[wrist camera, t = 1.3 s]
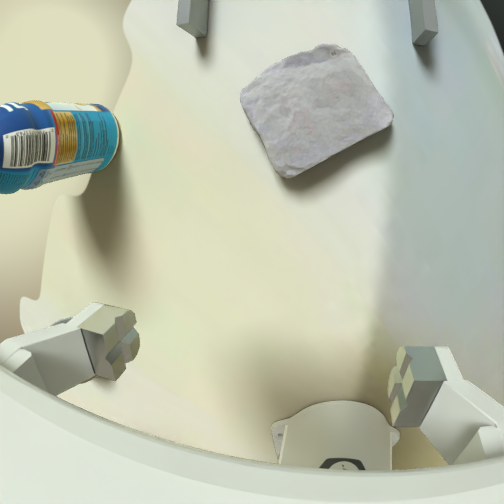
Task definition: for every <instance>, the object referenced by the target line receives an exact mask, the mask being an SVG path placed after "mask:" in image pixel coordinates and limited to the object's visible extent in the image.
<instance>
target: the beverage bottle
mask: <svg viewBox="0 0 504 504" xmlns="http://www.w3.org/2000/svg"><path fill="white" fill-rule="evenodd" d="M118 143H119V128H118V124H117V121H116V118H115V116H114V115H113V113H112V112H111V111H110V110H109V109H108V108H106V107H104V106H102V105H99V104H77V103H49V102H42V101H27V102H23V103H22V104H18V103H15V102H10V103H6V104H3V105H1V106H0V194H11V193H15V192H16V191H18V190H19V189H24V190H28V189H34V188H37V187H40V186H41V185H43V184H46V183H50V182H53V181H57V180H61V179H65V178H69V177H73V176H77V175H81V174H85V173H93V172H97V171H100V170H102V169H103V168H105V167H106V166H107V165H108V164H109V163H110V162H111V160H112V159H113V157H114V155H115V153H116V150H117V147H118Z"/></svg>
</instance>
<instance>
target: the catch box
mask: <svg viewBox="0 0 504 504" xmlns="http://www.w3.org/2000/svg"><path fill="white" fill-rule="evenodd" d="M208 5H209V0H179V1H178V13H177V26H179V27H181V28H182V29H184V30H185V31H187V32H188V33H190V34H191V35H192V36H194V37H195V38H197V37H205V36H207V22H208ZM409 9H410V18H411V29H412V42H413V44H417V45H422V46H425V45H426V44H427V43H428V42H429V41H430V40H431V39H432V38H433V37H434V36H435V35H436V34H437V33H438V24H437V16H436V9H435V2H434V0H409Z"/></svg>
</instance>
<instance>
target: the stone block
mask: <svg viewBox="0 0 504 504" xmlns="http://www.w3.org/2000/svg"><path fill="white" fill-rule="evenodd" d="M240 102H241V105H242V107H243V110H244V112H245V114H246V115H247V117H248V119H249V120H250V124H251V125H252V127H253V129H254V131H256V132H257V134H258V135H259V136H260V137H261V139H262V141H263V144H264V146H265V149H266V151H267V154H268V157H269V160H270V162H271V164H272V165H273V167H274V169H275V171H276V172H277V173H278V174H280V175H281V176H282V177H283V178H289V179H290V178H292V177H295V176H297V175H298V174H300V173H302V172H304V171H306V170H307V169H309V168H311V167H313V166H315V165H317V164H319V163H321V162H322V161H324V160H326V159H328V158H330V157H331V156H333V155H335V154H337V153H338V152H340V151H342V150H344V149H345V148H347V147H349V146H351V145H353V144H355V143H357V142H359V141H361V140H363V139H364V138H366V137H368V136H371V135H373V134H375V133H377V132H379V131H381V130H383V129H385V128H386V127H388V126H390V125H391V123H392V121H393V118H394V114H393V112H392V110H391V108H390V107H389V105H388V104H386V102H385V101H384V99H383V97H382V96H381V95H380V94H379V93H378V91H377V90H376V88H375V87H374V85H373V84H372V82H371V80H370V79H369V77H368V76H367V74H366V73H365V71H364V69H363V68H362V67H361V65H360V64H359V63H358V61H357V59H356V58H355V56H354V55H353V54H352V53H351V52H350V51H349V50H347V49H346V48H341V47H339V46H337V45H335V44H320V45H318V46H317V47H315V48H314V49H313V50H310V51H307V52H300V53H297V54H295V55H292V56H289V57H287V58H285V59H283V60H282V61H280V62H278V63H275V64H273V65H271V66H270V67H269V68H267V69H266V70H265V71H264V72H263V73H262V74H261V75H260V76H259V77H256V78H255V79H254V81H253V82H252V83H250V84H249V85H248V86H247V87H245V88H244V89H243V90H242V91H241V93H240Z"/></svg>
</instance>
